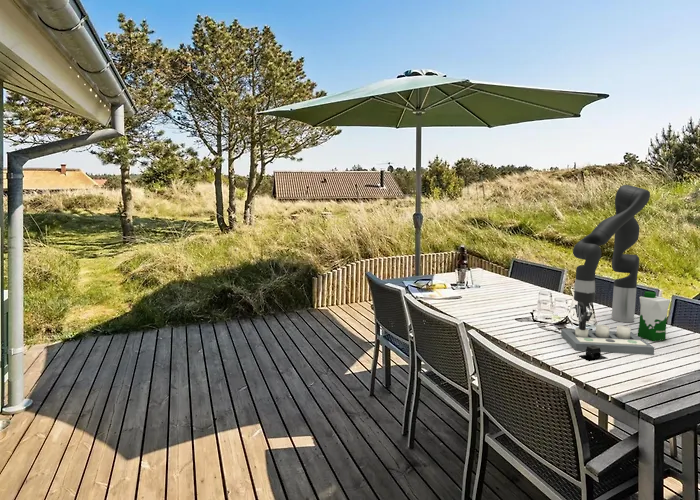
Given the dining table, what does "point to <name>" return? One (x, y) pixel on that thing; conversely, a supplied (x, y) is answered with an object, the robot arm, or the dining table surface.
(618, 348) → the button board
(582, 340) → the strip
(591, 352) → the black boxy piece
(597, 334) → the button
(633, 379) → the dining table surface
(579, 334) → the button
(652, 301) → the milk carton
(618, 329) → the button
